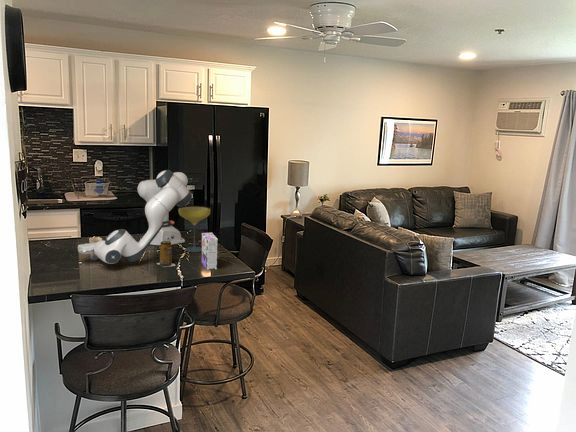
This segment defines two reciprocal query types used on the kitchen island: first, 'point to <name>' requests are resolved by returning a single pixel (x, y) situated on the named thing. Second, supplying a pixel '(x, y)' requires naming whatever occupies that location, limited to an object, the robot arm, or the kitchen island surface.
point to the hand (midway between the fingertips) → (95, 243)
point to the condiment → (166, 254)
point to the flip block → (94, 240)
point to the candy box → (209, 251)
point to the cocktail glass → (194, 219)
